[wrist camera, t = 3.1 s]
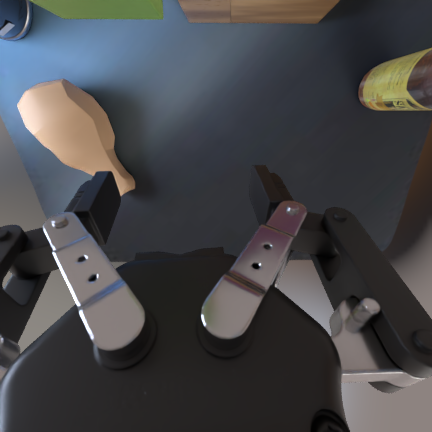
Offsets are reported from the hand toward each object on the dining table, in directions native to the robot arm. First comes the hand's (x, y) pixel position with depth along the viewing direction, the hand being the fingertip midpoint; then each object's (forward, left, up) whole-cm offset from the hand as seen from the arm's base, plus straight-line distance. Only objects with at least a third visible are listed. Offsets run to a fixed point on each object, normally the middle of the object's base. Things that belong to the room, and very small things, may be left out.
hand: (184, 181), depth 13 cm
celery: (-5, +19, +4) cm, 20 cm away
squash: (-20, -6, -28) cm, 35 cm away
